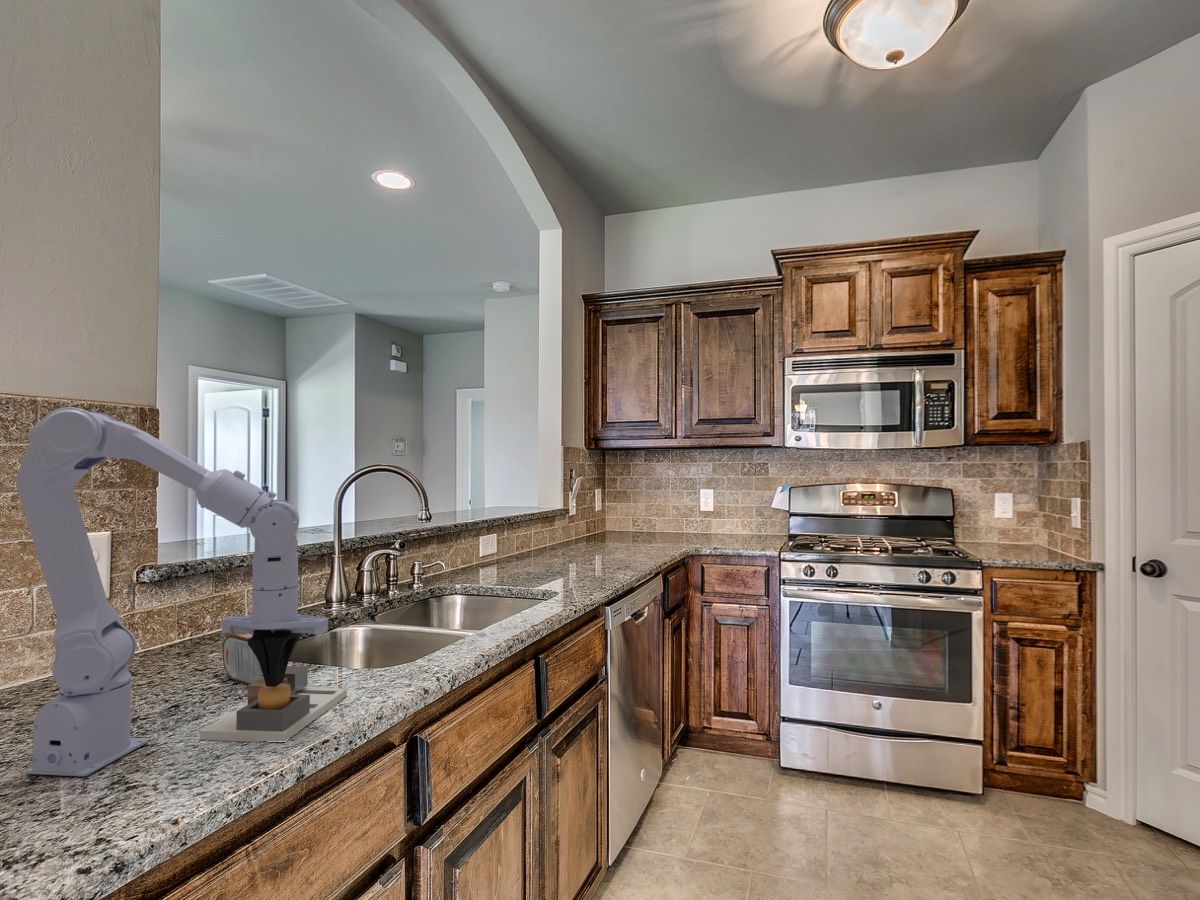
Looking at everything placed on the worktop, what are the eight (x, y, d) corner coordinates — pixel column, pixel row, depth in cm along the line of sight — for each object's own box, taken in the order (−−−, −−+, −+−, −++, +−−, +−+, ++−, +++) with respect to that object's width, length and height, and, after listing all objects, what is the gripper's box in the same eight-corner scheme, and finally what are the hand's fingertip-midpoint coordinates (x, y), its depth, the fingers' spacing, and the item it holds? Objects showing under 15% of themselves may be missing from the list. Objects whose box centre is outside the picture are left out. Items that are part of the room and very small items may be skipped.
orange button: (279, 712, 86) (279, 694, 86) (251, 711, 87) (251, 693, 87) (296, 701, 90) (296, 683, 90) (269, 700, 91) (269, 683, 91)
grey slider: (294, 693, 98) (295, 673, 98) (270, 692, 98) (270, 673, 98) (307, 685, 101) (307, 666, 101) (283, 684, 102) (283, 666, 102)
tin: (288, 688, 105) (288, 637, 105) (269, 694, 102) (270, 642, 102) (236, 673, 112) (236, 625, 113) (218, 678, 110) (218, 629, 110)
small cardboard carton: (273, 707, 92) (273, 686, 92) (247, 706, 93) (247, 685, 93) (287, 698, 96) (287, 678, 96) (262, 697, 96) (262, 677, 96)
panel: (284, 743, 84) (284, 715, 84) (199, 739, 85) (200, 712, 85) (346, 696, 101) (347, 672, 101) (275, 693, 102) (275, 670, 102)
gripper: (339, 582, 92) (338, 676, 92) (245, 580, 93) (244, 673, 93) (313, 592, 85) (312, 693, 85) (211, 590, 86) (210, 690, 86)
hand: (274, 684), depth 89 cm, fingers closed
